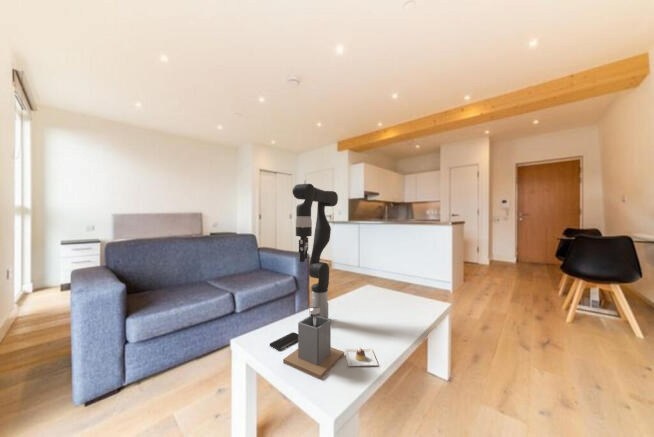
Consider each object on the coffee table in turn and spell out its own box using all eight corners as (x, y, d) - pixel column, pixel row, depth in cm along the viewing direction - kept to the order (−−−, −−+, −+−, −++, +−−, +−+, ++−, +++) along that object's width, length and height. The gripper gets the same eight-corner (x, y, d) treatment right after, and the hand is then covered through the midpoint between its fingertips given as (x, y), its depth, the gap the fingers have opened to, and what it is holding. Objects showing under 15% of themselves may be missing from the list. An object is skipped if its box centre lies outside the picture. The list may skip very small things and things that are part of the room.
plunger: (312, 342, 103) (312, 303, 103) (327, 347, 99) (327, 307, 99) (301, 350, 96) (301, 309, 97) (316, 356, 92) (316, 313, 92)
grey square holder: (310, 343, 110) (310, 309, 110) (344, 355, 100) (344, 318, 100) (283, 362, 95) (283, 324, 95) (320, 379, 85) (320, 336, 85)
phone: (304, 336, 115) (279, 349, 103) (304, 339, 115) (279, 352, 103) (293, 331, 120) (268, 343, 108) (293, 334, 120) (268, 346, 108)
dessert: (371, 351, 105) (371, 340, 105) (378, 368, 93) (378, 355, 93) (344, 351, 104) (344, 340, 104) (348, 368, 92) (348, 356, 92)
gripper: (298, 225, 120) (298, 257, 120) (293, 226, 105) (292, 263, 105) (313, 225, 119) (313, 257, 119) (309, 226, 105) (309, 263, 105)
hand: (303, 260), depth 112 cm, fingers open, 8 cm apart
